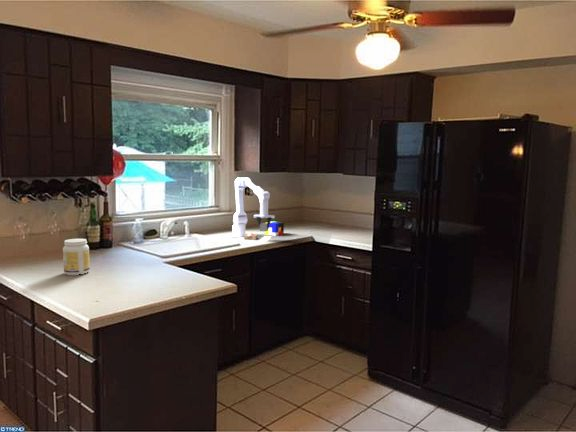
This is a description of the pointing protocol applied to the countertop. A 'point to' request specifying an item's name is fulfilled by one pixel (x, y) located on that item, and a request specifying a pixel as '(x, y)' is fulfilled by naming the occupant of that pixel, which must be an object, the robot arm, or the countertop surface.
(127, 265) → the countertop surface
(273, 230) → the puzzle toy
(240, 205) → the robot arm
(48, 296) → the countertop surface
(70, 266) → the supplement tub
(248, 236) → the collar
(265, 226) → the block
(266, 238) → the board
